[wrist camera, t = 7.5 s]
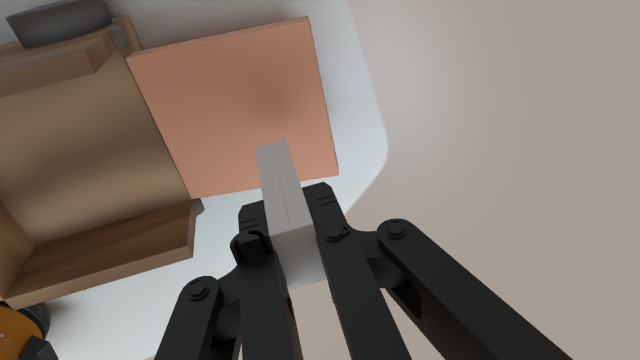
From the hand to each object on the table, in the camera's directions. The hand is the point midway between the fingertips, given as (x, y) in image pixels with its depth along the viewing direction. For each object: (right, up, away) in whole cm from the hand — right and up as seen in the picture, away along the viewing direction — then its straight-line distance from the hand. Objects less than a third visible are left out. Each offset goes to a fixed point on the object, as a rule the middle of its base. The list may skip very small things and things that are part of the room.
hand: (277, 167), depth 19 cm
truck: (-17, +3, +10) cm, 20 cm away
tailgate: (-8, +2, +6) cm, 11 cm away
